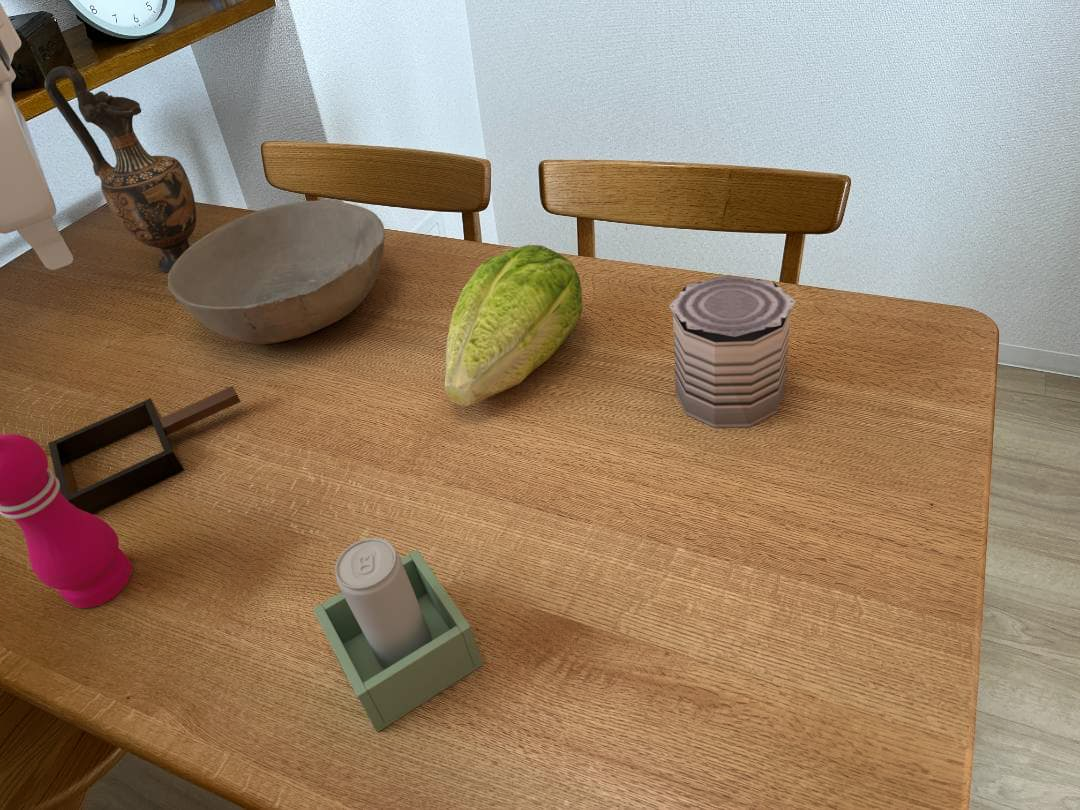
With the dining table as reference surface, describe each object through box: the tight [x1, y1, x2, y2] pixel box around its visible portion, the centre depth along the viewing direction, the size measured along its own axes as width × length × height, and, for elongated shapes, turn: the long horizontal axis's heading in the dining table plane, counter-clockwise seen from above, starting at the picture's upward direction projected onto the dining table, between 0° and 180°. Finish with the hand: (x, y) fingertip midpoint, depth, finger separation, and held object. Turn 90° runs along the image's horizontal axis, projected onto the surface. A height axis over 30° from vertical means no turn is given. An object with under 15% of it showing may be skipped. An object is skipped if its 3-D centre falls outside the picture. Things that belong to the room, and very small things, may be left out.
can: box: [668, 274, 796, 429], centre depth 82 cm, size 11×11×12 cm
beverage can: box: [334, 537, 432, 670], centre depth 63 cm, size 5×5×12 cm
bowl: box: [167, 199, 386, 345], centre depth 107 cm, size 28×28×10 cm
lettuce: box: [444, 244, 583, 408], centre depth 91 cm, size 13×22×14 cm
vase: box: [44, 65, 197, 273], centre depth 116 cm, size 12×12×30 cm
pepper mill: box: [0, 433, 133, 609], centre depth 71 cm, size 7×7×20 cm
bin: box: [312, 548, 484, 733], centre depth 65 cm, size 10×10×6 cm
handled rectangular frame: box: [48, 385, 241, 515], centre depth 91 cm, size 20×12×3 cm, turn 123°
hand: (53, 237), depth 58 cm, fingers open, 8 cm apart
